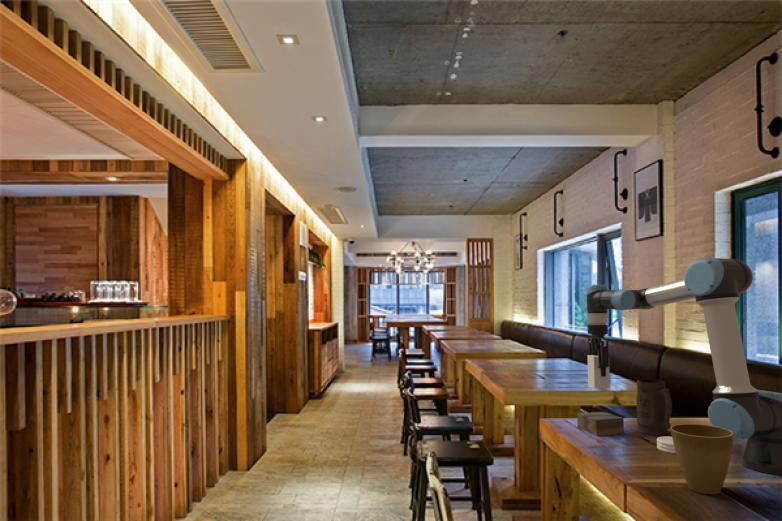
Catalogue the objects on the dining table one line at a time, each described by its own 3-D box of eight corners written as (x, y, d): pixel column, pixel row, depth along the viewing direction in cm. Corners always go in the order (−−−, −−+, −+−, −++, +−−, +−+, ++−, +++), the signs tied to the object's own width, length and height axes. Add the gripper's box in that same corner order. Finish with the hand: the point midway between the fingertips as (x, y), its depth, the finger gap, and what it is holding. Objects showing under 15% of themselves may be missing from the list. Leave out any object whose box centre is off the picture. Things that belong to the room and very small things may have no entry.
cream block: (609, 388, 206) (609, 356, 207) (594, 388, 206) (593, 356, 207) (603, 385, 212) (602, 355, 213) (588, 385, 212) (587, 355, 213)
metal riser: (624, 434, 204) (623, 418, 204) (596, 436, 201) (596, 420, 201) (603, 426, 215) (603, 411, 216) (577, 428, 212) (577, 413, 213)
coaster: (656, 452, 181) (656, 441, 181) (657, 444, 189) (657, 434, 190) (690, 456, 176) (690, 445, 176) (689, 448, 185) (689, 438, 185)
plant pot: (712, 479, 153) (710, 422, 154) (749, 499, 138) (746, 436, 139) (661, 480, 152) (659, 423, 153) (692, 500, 138) (690, 437, 139)
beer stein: (629, 429, 209) (630, 378, 209) (648, 426, 214) (649, 376, 214) (663, 442, 195) (665, 387, 195) (683, 438, 200) (684, 385, 200)
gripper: (617, 325, 201) (619, 387, 200) (596, 322, 220) (598, 379, 219) (598, 325, 201) (599, 387, 200) (578, 322, 220) (579, 379, 219)
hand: (598, 383), depth 209 cm, fingers closed on cream block, 6 cm apart
